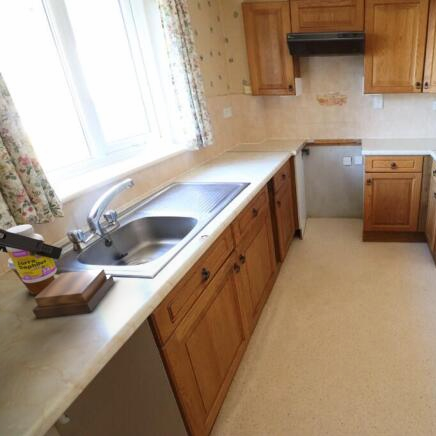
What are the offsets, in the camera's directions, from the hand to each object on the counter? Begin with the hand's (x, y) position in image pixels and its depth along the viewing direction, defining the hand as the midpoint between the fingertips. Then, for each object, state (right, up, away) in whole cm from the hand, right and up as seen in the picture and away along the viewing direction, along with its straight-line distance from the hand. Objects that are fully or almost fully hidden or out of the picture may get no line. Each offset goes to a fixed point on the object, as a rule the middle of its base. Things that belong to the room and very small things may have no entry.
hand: (46, 253), depth 79 cm
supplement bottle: (0, -6, -1) cm, 6 cm away
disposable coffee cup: (-20, -14, +21) cm, 32 cm away
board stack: (-4, -15, +16) cm, 22 cm away
